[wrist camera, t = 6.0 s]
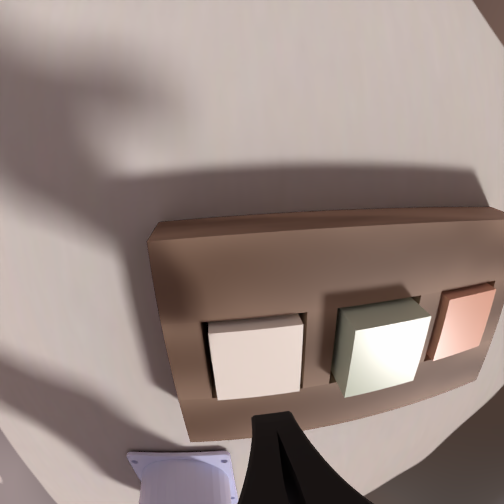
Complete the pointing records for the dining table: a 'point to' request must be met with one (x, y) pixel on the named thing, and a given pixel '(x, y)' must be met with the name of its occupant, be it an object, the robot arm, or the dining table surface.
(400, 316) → the sage button
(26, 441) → the dining table surface
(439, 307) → the terracotta button
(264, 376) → the cream button
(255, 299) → the button panel
